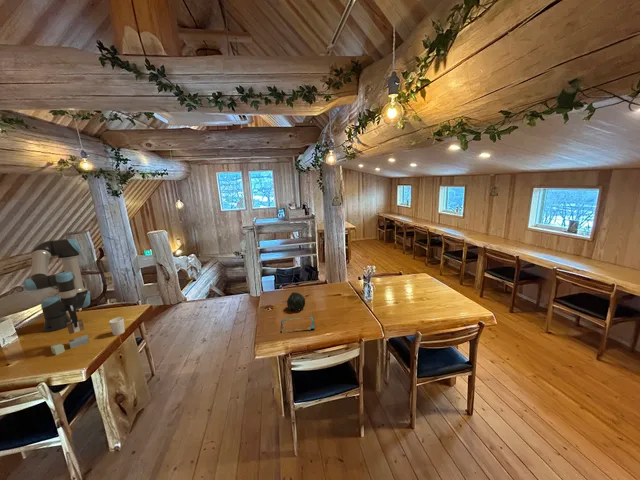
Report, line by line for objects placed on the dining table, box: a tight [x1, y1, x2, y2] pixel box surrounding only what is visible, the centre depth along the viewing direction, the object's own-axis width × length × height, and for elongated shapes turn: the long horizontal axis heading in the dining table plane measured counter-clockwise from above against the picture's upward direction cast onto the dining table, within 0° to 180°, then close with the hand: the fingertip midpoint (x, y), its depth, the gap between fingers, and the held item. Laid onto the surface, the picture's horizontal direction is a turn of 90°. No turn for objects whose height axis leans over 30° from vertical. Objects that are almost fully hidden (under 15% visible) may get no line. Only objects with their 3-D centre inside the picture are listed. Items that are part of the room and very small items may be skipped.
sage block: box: [50, 342, 66, 356], centre depth 159 cm, size 6×4×4 cm, turn 64°
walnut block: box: [67, 318, 85, 335], centre depth 166 cm, size 6×7×6 cm
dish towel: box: [280, 316, 316, 332], centre depth 180 cm, size 17×23×2 cm
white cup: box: [108, 316, 126, 336], centre depth 179 cm, size 8×8×10 cm
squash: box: [286, 292, 306, 311], centre depth 206 cm, size 14×15×15 cm
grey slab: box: [68, 334, 90, 350], centre depth 168 cm, size 7×9×4 cm
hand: (76, 329), depth 166 cm, fingers closed on walnut block, 5 cm apart
